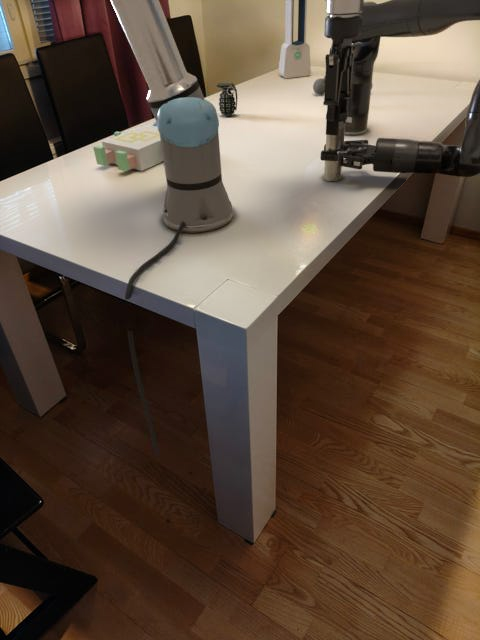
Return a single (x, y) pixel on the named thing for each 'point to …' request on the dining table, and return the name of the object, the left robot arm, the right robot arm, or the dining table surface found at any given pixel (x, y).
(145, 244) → the dining table surface
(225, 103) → the grenade
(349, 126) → the right robot arm
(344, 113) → the lid
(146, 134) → the decorative block
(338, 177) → the grey metal cylinder
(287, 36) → the electronic device
